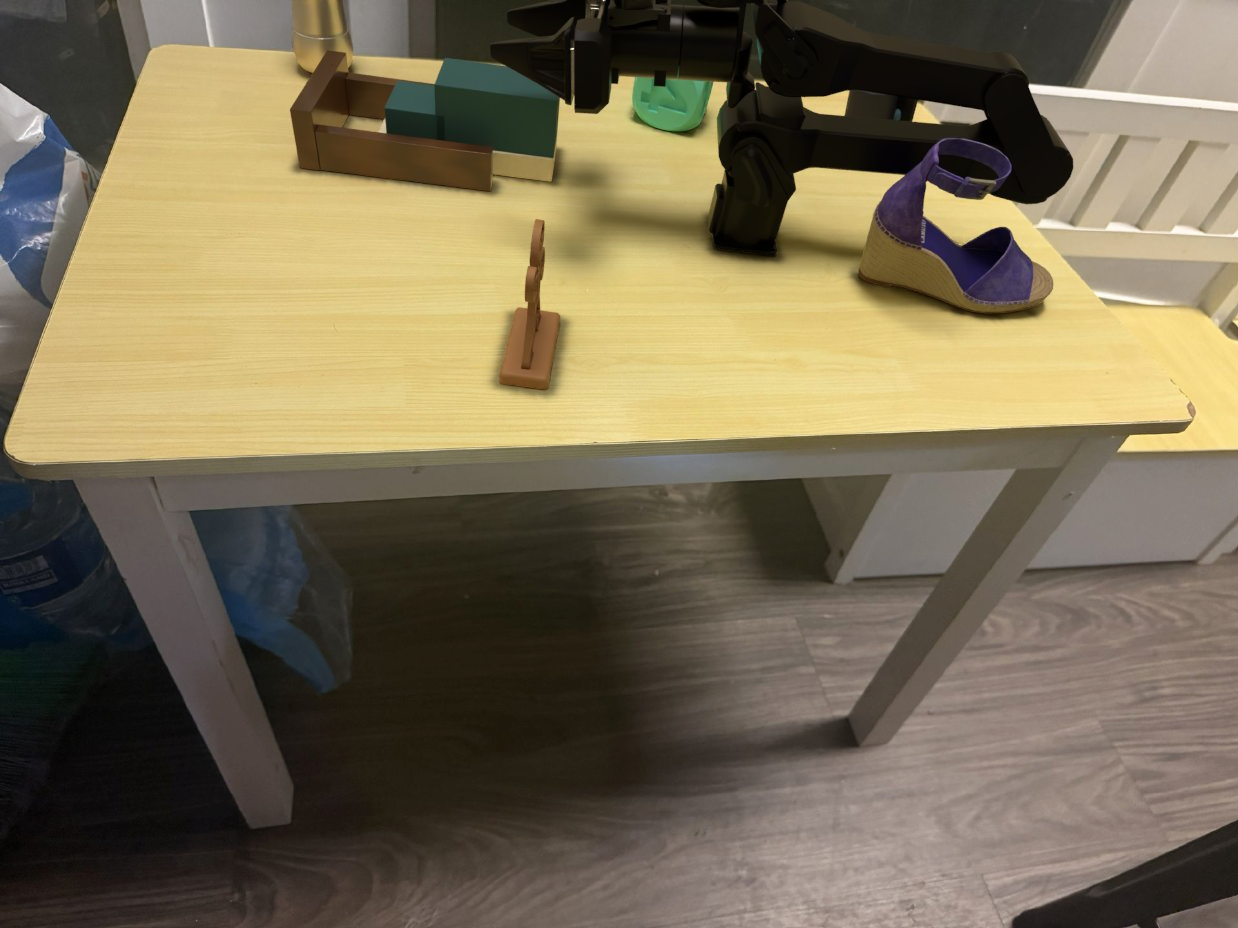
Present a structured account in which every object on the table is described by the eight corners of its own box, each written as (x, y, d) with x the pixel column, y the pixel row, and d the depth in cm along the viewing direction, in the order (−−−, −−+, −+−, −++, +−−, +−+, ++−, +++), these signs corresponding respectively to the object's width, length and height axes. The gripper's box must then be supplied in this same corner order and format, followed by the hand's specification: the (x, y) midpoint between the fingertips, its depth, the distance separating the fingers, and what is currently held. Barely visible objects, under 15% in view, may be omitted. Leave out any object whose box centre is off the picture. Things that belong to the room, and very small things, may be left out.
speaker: (895, 144, 103) (920, 59, 95) (900, 168, 99) (926, 83, 91) (834, 139, 103) (854, 55, 95) (836, 163, 99) (857, 78, 91)
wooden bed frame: (505, 128, 93) (506, 74, 88) (490, 192, 83) (491, 135, 79) (334, 105, 91) (327, 50, 87) (299, 168, 82) (289, 109, 77)
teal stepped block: (556, 150, 91) (562, 72, 85) (551, 182, 86) (557, 102, 80) (391, 128, 89) (385, 48, 83) (378, 160, 85) (370, 77, 78)
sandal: (1050, 330, 79) (1146, 214, 66) (847, 291, 80) (903, 168, 67) (1045, 269, 83) (1135, 148, 70) (852, 232, 84) (906, 105, 71)
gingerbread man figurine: (515, 314, 71) (521, 188, 62) (560, 321, 71) (572, 195, 62) (498, 383, 65) (502, 253, 56) (547, 390, 65) (558, 262, 56)
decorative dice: (691, 138, 97) (705, 70, 91) (628, 121, 98) (637, 52, 92) (707, 112, 102) (721, 45, 96) (646, 95, 103) (657, 28, 97)
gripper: (687, -90, 72) (510, -100, 72) (689, -37, 58) (471, -49, 58) (677, 46, 79) (516, 37, 80) (676, 121, 66) (483, 110, 66)
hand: (499, 33), depth 71 cm, fingers open, 9 cm apart
